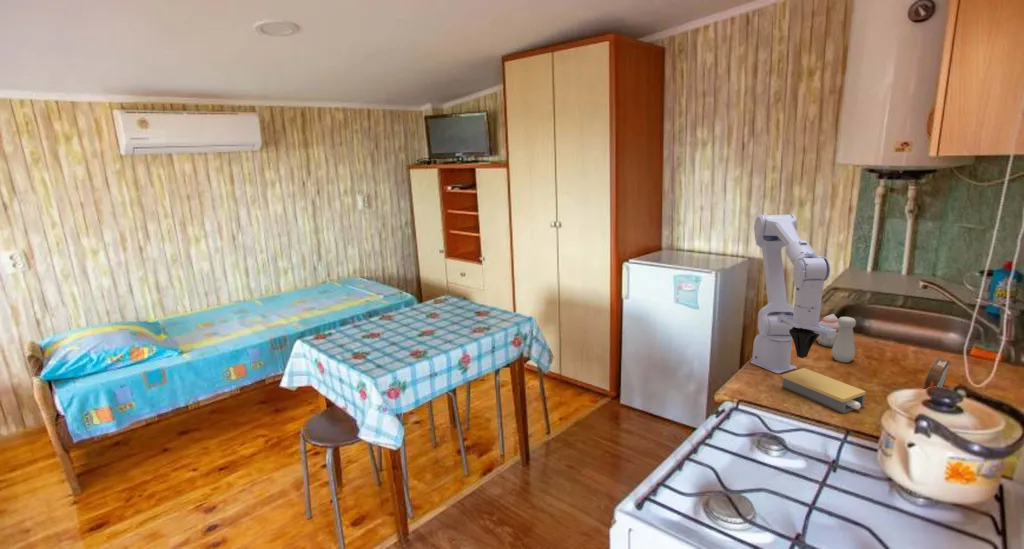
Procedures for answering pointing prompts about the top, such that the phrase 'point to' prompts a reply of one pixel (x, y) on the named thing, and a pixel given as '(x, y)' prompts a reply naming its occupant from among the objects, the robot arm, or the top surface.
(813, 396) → the cable duct
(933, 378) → the tin
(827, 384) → the duct cover
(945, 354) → the top surface
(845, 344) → the salt shaker
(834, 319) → the cupcake
